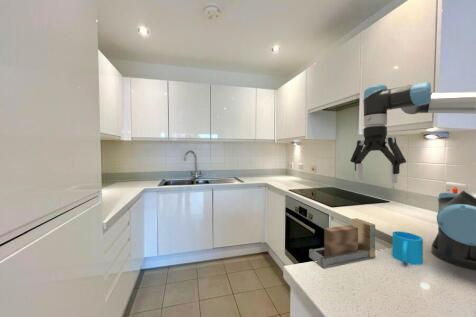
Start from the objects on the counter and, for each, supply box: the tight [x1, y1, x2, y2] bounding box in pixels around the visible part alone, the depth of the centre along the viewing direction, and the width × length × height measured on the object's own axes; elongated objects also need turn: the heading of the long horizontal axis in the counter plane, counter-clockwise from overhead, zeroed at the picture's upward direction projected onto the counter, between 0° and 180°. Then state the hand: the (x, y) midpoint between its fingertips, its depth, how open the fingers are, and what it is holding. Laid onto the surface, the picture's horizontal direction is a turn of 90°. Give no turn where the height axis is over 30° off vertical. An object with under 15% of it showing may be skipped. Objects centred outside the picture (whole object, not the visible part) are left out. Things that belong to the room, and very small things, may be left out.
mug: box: [391, 231, 424, 266], centre depth 68 cm, size 12×8×8 cm
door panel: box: [323, 224, 358, 257], centre depth 70 cm, size 12×3×10 cm, turn 107°
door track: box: [308, 217, 376, 269], centre depth 70 cm, size 22×7×12 cm, turn 107°
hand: (374, 181), depth 77 cm, fingers open, 13 cm apart
